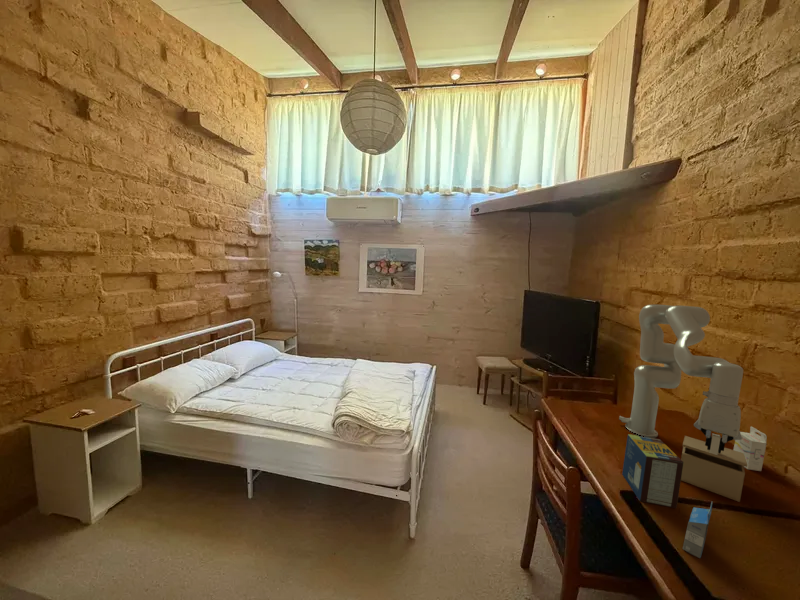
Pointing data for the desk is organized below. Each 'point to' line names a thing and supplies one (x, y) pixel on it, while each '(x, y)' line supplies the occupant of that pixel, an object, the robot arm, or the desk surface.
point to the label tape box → (697, 531)
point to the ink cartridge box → (752, 448)
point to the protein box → (652, 470)
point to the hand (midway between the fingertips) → (713, 449)
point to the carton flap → (715, 449)
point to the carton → (712, 473)
